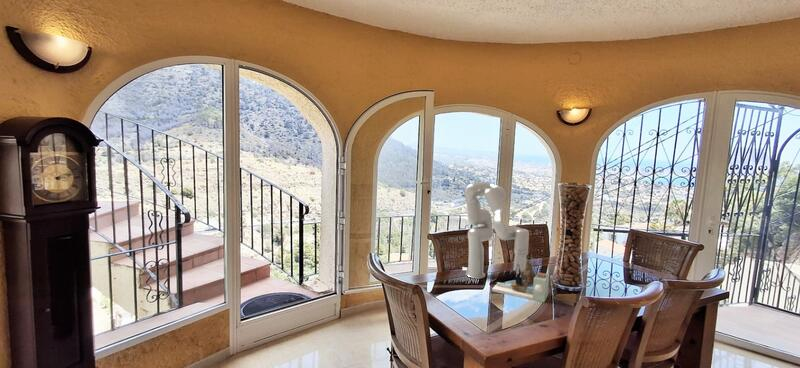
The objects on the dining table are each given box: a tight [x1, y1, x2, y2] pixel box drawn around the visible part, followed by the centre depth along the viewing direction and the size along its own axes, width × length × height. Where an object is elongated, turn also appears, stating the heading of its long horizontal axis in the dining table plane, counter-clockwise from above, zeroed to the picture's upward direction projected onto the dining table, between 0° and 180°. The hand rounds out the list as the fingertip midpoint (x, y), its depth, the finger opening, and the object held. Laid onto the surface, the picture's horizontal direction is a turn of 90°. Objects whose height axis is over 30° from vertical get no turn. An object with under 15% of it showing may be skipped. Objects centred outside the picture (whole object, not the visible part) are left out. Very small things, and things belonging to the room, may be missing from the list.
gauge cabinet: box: [532, 272, 550, 303], centre depth 210 cm, size 6×12×12 cm, turn 149°
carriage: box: [510, 272, 529, 292], centre depth 216 cm, size 8×6×10 cm
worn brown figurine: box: [523, 258, 536, 287], centre depth 230 cm, size 12×6×18 cm, turn 121°
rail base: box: [491, 281, 534, 301], centre depth 218 cm, size 22×12×4 cm, turn 59°
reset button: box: [538, 272, 546, 278], centre depth 210 cm, size 3×3×3 cm
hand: (519, 281), depth 216 cm, fingers closed on carriage, 4 cm apart
